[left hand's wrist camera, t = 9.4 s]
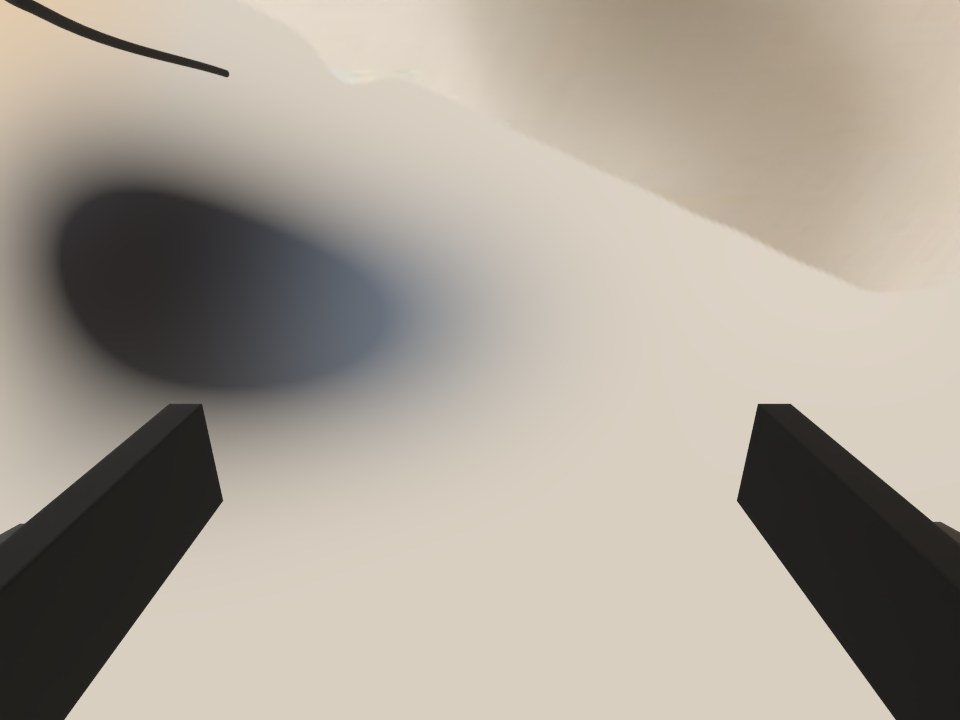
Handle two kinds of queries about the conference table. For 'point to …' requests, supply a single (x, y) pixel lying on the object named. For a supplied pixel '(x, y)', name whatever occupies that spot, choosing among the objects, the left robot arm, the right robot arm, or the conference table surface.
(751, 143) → the conference table surface
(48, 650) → the left robot arm
